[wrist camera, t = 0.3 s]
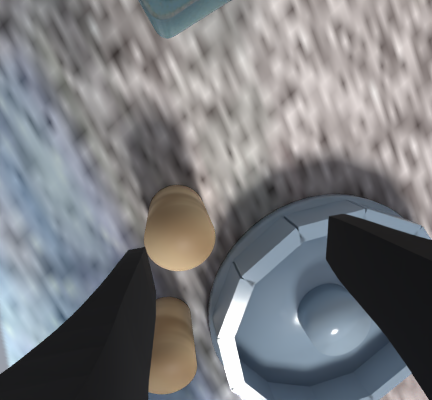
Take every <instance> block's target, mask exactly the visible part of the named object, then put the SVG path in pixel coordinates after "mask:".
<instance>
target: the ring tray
mask: <svg viewBox="0 0 432 400" xmlns="http://www.w3.org/2000/svg"><path fill="white" fill-rule="evenodd" d="M338 214H347V215H351V216H355V217H358V218H362V219H365V220H368V221H371V222H374V223H377V224H381V225H384V226H387V227H390V228H393V229H396V230H399V231H402V232H406V233H409V234H412V235H415V236H419V237H423V238H426V239H430V240H431V238H430V237H429V235H428V234H427V232H426V231H425V229H424V228H423V227H422V226H421V225H419V224H416V223H414V222H412V221H409V220H407V219H404V218H402V217H401V216H400V215H399V214H398V213H396V212H395V211H393V210H391V209H390V208H388V207H386V206H384V205H382V204H379V203H377V202H374V201H372V200H369V199H367V198H363V197H359V196H355V195H347V194H324V195H318V196H313V197H308V198H304V199H301V200H298V201H295V202H292V203H290V204H288V205H286V206H284V207H281V208H279V209H277V210H275V211H274V212H272V213H271V214H269V215H267V216H266V217H264V218H263V219H261V220H260V221H259V222H258V223H256V224H255V225H254V226H253V227H251V228H250V229H249V230H248V231H247V232H246V233H245V234H244V235H243V236H242V237H241V238H240V239H239V240H238V241H237V243H236V244H235V245H234V246H233V248H232V249H231V250H230V252H229V253H228V254H227V256H226V258H225V259H224V261H223V263H222V264H221V266H220V268H219V270H218V273H217V275H216V277H215V280H214V282H213V286H212V290H211V293H210V299H209V306H208V322H209V328H210V333H211V338H212V343H213V346H214V349H215V351H216V354H217V356H218V358H219V360H220V362H221V363H222V365H223V366H224V368H225V371H226V375H227V379H228V383H229V387H230V389H231V391H232V392H234V393H235V394H236V395H238V396H239V397H241V398H242V399H243V400H379V399H381V398H382V397H383V396H384V395H386V394H387V393H388V392H389V391H391V390H392V389H393V388H394V387H395V386H397V385H398V384H399V383H400V382H402V381H403V380H404V379H405V378H407V377H408V376H409V375H410V374H411V371H410V370H409V368H408V367H407V365H406V364H405V362H404V361H403V360H402V358H401V357H400V355H399V354H398V352H397V351H396V350H395V348H394V347H393V345H392V344H391V342H390V341H389V340H388V338H387V337H386V336H385V334H384V333H383V332H382V331H381V329H380V328H379V327H378V326H377V324H376V323H375V322H374V321H373V320H372V319H371V317H370V316H369V315H368V314H367V313H366V312H365V310H364V309H363V308H362V307H361V306H360V305H359V303H358V302H357V301H356V300H355V299H354V298H353V296H352V295H351V294H350V293H349V292H348V290H347V289H346V288H345V287H344V286H343V284H342V283H341V282H340V281H339V279H338V278H337V276H336V275H335V273H334V272H333V270H332V269H331V267H330V265H329V264H328V262H327V260H326V247H327V233H328V219H329V216H333V215H338Z"/></svg>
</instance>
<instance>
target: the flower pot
mask: <svg viewBox="0 0 432 400" xmlns="http://www.w3.org/2000/svg"><path fill="white" fill-rule="evenodd" d="M229 1H231V0H139V2H140V4H141V6H142V7H143V9H144V11H145V13H146V15H147V16H148V18H149V20H150V22H151V23H152V25H153V27H154V29H155V30H156V32H157V33H158V34H159V35H160V36H161V37H163V38H171V37H174V36H176V35H177V34H179V33H180V32H182V31H183V30H185V29H187V28H188V27H190V26H191V25H193V24H194V23H196V22H198V21H199V20H201V19H202V18H204V17H205V16H207V15H209V14H210V13H212V12H213V11H215V10H217V9H218V8H220V7H221V6H223V5H224V4H226V3H228V2H229Z"/></svg>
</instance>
